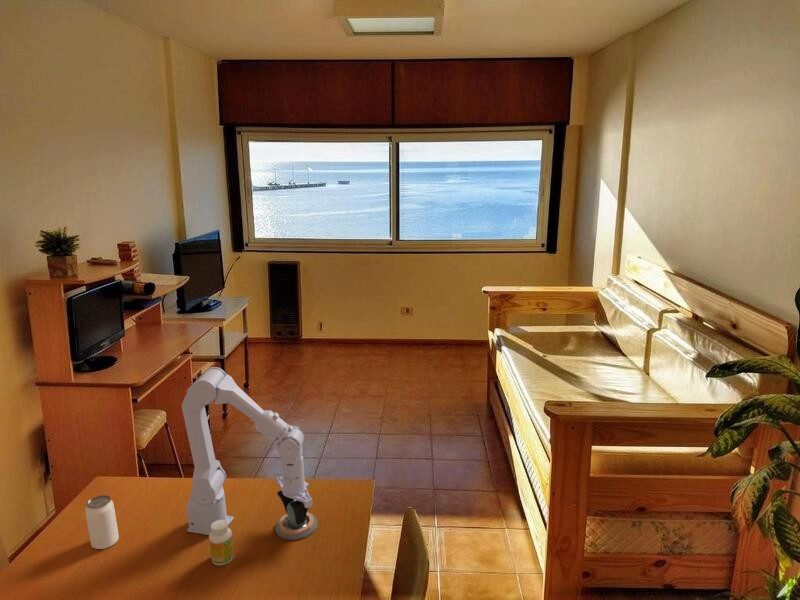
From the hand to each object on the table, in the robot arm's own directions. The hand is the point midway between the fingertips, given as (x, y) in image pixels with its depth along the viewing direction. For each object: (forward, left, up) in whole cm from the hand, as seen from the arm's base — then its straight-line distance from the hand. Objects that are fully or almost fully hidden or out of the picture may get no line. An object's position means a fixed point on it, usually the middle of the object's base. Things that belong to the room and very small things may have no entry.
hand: (296, 518), depth 154 cm
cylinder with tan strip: (0, 0, -2) cm, 2 cm away
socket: (0, 0, -2) cm, 2 cm away
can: (-46, -16, -3) cm, 49 cm away
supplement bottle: (-13, -15, -3) cm, 20 cm away
